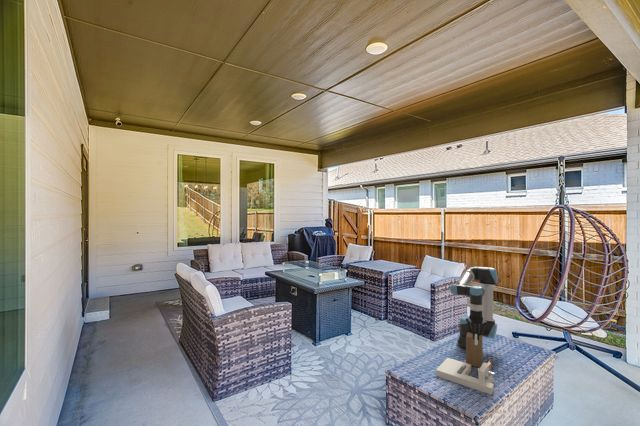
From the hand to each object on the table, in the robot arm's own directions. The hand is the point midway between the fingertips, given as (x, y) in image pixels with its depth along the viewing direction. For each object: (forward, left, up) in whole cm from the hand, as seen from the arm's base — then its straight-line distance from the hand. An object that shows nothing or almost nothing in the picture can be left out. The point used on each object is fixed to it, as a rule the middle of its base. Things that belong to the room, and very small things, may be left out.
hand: (476, 344), depth 209 cm
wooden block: (-13, -5, -20) cm, 24 cm away
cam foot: (+4, +7, -19) cm, 21 cm away
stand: (+10, -3, -19) cm, 22 cm away
